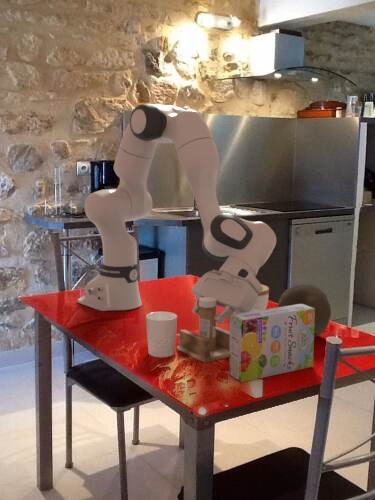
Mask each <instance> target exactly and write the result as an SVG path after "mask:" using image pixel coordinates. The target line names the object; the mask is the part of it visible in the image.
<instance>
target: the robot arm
mask: <svg viewBox="0 0 375 500" xmlns="http://www.w3.org/2000/svg"><path fill="white" fill-rule="evenodd" d="M159 144H173V146H174V149H175V152H176V154H177V155H176V156H177V157H178V160H179V163H180V165H181V168H182V170H183V172H184V175H185V177H186V180H187V182H188V185H189V187H190V190H191V192H192V197H193V198H194V203H195V206H196V209H197V212H198V216H199V218H200V219H199V220H200V222H201V226H202V239H201V240H202V241H201V246H202V251H203V253H204V254H205V255H206V256H207V257H208V258H209V259H210V260H212V261H215V262H223V264H222V265H221V266H220V268H219V270H217V269H212V270H210V271H207V272H206V273H204V274H203V275H202V276H201V277H200V278H199V279H198V281H196V282H195V284H194V285H193V286H192V288H191V293H192V295H193V296H195V297H196V299H195V302H194V303H195V304H194V306H193V308H192V309H191V312H192V313H193V314H195V315H198V316H200V306H199V299H200V298H202V297H212V298H215V299H216V300H217V306H216V307H220V308H223V309H224V310H223V311H222V312H221V313H216V317H215V321H216V323H218V324H223V323H224V321H225V320H226V319H228V318H230V315H232V314H235V312H237V313H245V312H248V311H249V310H250V309H251V307H252V306H253V304H254V303H255V301H256V299H257V297H258V294H259V293H261V292H262V290H263V287H262V285H263V284H262V283H261V282H260V281H259V280H258V279H257V278H256V276H257V275H258V271H259V269H260V268H261V267H262V266H264V265H265V263H266V262H267V260H269V258H270V256H271V254H272V253H273V251H274V249H275V247H276V244H277V236H276V233H275V231H274V230H273V228H272V227H271V226H269V225H268V224H267V223H265V222H263V221H259V220H258V221H251V220H246V219H244V218H241V217H239V216H237V215H236V214H233V213H232V212H231V213H230V212H223V213H222V210H221V207H220V205H219V201H218V197H217V179H218V174H219V168H220V158H219V153H218V152H219V151H218V149H217V148H218V147H217V145H216V142H215V139H214V137H213V134H212V132H211V130H210V128H209V126H208V124H207V122H206V120H205V119H204V116H202V114H201V113H200V112H199V111H197V110H194V109H188V108H186V107H179V106H175V105H170V104H153V103H142V104H139V105H137V106H136V107H134V109H133V110H132V111H131V114H130V118H129V123H128V124H127V126H126V129H125V131H124V132H123V135H122V137H121V141H120V144H119V147H118V150H117V153H116V157H115V160H114V163H113V171H114V172H115V175H116V176H117V177H118V178H119V184H118V187H117V188H108V189H107V188H105V189H100V190H97V191H94V192H92V193H89V194H88V195H87V197H86V198H85V201H84V205H83V206H84V207H83V208H84V209H83V210H84V213H85V216H86V217H87V219H88V220H89V221H90V222H91V223H93V224H94V225H95V227H96V228H97V230H98V233H99V235H100V237H101V242H102V259H103V260H102V261H103V263H101V264H98V265H96V267H97V268H96V269H98V270H99V269H100V270H99V272H98V274H97V275H96V276H95V277H94V278H93V279H91V280H90V281H88V282H87V284H86V285H85V287H84V295H83V296H81V297H79V298H78V299H77V303H78V304H81V305H83V306H86V307H89V308H92V309H95V310H97V311H100V312H108V311H127V310H134V309H137V308H140V307H141V306H142V305H143V303H142V299H141V295H140V289H139V282H138V281H139V280H138V278H139V263H138V262H137V260H138V259H137V258H138V250H137V249H138V248H137V246H138V245H137V244H138V243H137V240H136V238H135V237H134V236H133V235H131V234H129V232H128V230H127V227H126V222H131V221H138V220H141V219H143V218H145V217H147V216H149V215H150V214H151V212H152V209H153V206H154V205H153V203H154V202H153V198H152V196H151V194H150V192H149V191H148V186H147V184H148V183H147V182H148V176H149V172H150V169H151V166H152V161H153V159H154V156H155V153H156V149H157V146H158V145H159ZM261 284H262V285H261ZM257 293H258V294H257Z"/></svg>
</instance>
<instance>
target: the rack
mask: <svg viewBox="0 0 375 500" xmlns="http://www.w3.org/2000/svg"><path fill="white" fill-rule="evenodd" d="M229 346H230V330H229V331H228V330H226V329H224V328H221V327H219V326H216V348H215V349H214V350H211V351H210V340H208V339H205V338H203V337H201V336H199V334H196V333H193V332H192V331H189V330H187V329H184V328H183V329H180V330H179V345H176V350H178V351H180V352H181V353H184V354H185V355H188V356H190V357H192V358H194V359H196V360H198V361H200V362H201V363H210V362H213V361H216V360H217V361H218V360H222V359H224V358H229Z"/></svg>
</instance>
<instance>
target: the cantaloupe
mask: <svg viewBox="0 0 375 500" xmlns="http://www.w3.org/2000/svg"><path fill="white" fill-rule="evenodd" d="M277 303H278V304H277V307H283V306H290V305H296V304H304V305H307V306H310V307H312V308H315V321H314V338H315V337H317V336H319V335H322V334H323V333H324V332H325V331H326V330H327V329H328V326H329V323H330V320H331V319H330V318H331V316H332V315H331V314H332V311H331V305H330V302H329V300H328V297H327V295H326V294H325V292H323V290H321V289H320V287H317V286H315V285H313V284H295V285H292V286H290V287H288V288H287V289H286V290H285V291H284V292H283V293H282V294H281V296H280V298H279V300H278V302H277Z"/></svg>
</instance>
